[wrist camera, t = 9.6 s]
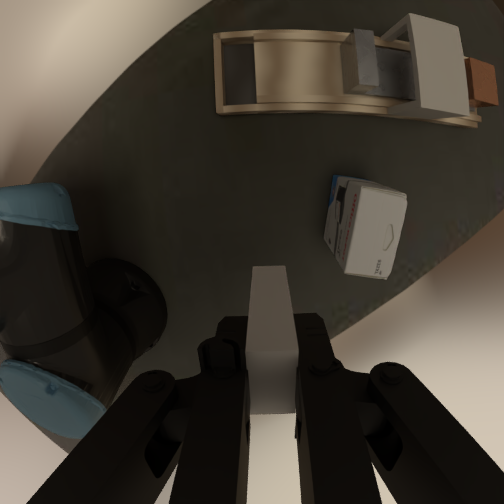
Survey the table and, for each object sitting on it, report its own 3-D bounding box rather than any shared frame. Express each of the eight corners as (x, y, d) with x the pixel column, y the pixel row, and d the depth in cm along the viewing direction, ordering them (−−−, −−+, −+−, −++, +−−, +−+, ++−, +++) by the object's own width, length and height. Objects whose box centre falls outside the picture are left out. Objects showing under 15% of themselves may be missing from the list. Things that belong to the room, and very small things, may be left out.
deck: (220, 116, 35) (214, 112, 31) (217, 41, 32) (212, 30, 28) (465, 128, 33) (481, 128, 29) (459, 62, 30) (475, 57, 26)
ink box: (332, 172, 37) (361, 184, 25) (369, 179, 37) (409, 194, 25) (321, 239, 39) (342, 275, 28) (357, 244, 39) (389, 281, 28)
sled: (343, 93, 30) (359, 84, 25) (339, 45, 28) (353, 28, 23) (470, 111, 30) (498, 109, 24) (466, 69, 28) (493, 62, 22)
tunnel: (387, 114, 31) (421, 107, 23) (380, 37, 28) (409, 13, 20) (430, 119, 31) (469, 116, 23) (423, 45, 28) (458, 26, 20)
